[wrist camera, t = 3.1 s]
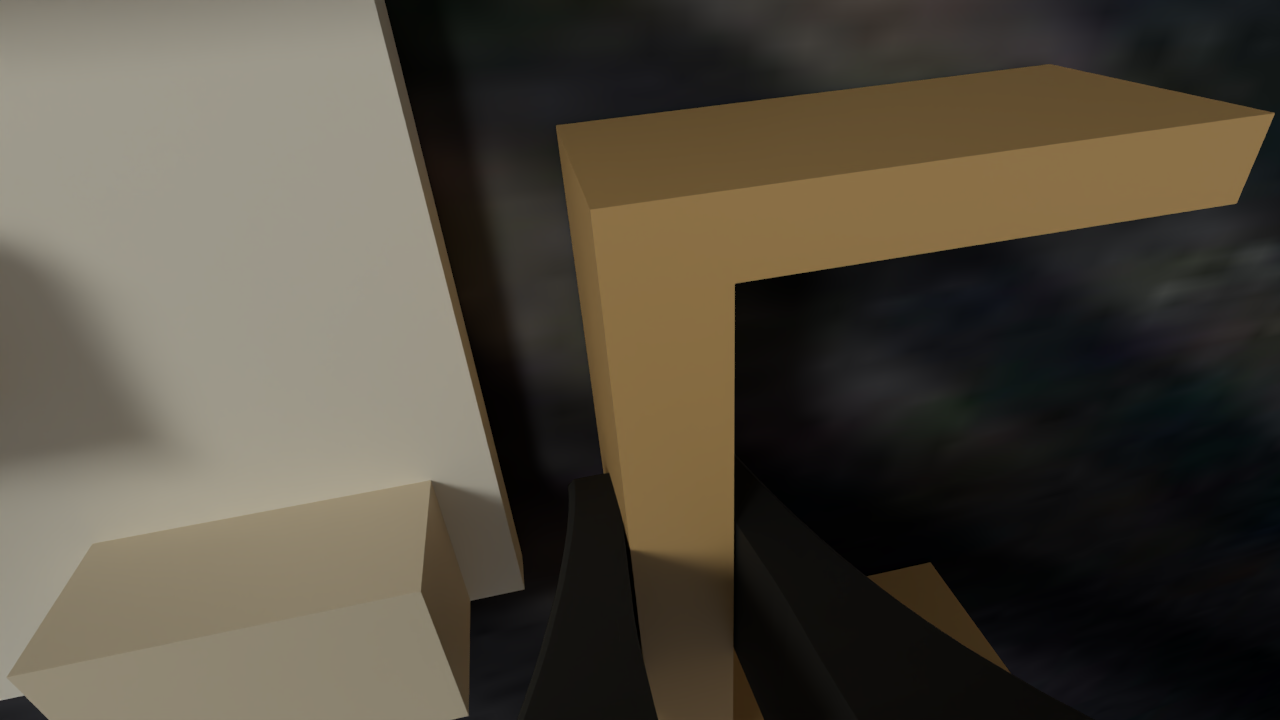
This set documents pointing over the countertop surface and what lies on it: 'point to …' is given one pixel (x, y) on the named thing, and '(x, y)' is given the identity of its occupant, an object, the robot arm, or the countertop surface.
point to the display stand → (232, 373)
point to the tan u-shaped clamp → (816, 240)
